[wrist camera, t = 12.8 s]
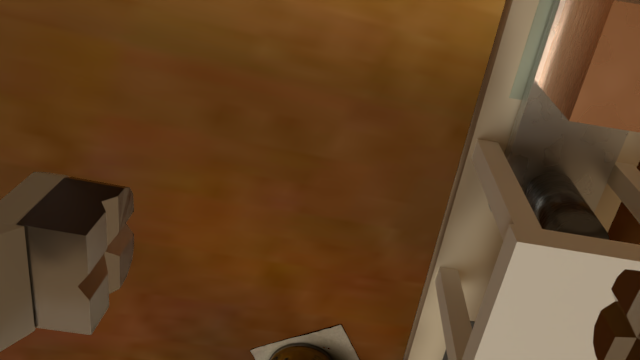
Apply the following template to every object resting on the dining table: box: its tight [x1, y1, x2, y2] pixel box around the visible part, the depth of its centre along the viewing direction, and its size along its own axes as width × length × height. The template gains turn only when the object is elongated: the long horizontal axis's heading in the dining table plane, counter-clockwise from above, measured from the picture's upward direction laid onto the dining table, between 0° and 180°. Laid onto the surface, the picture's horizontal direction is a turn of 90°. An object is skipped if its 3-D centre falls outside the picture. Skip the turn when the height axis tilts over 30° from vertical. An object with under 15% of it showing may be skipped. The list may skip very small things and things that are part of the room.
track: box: [403, 0, 640, 360], centre depth 41 cm, size 11×42×2 cm, turn 172°
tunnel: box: [435, 139, 640, 360], centre depth 35 cm, size 11×12×12 cm
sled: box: [488, 0, 640, 240], centre depth 31 cm, size 7×24×7 cm, turn 172°
